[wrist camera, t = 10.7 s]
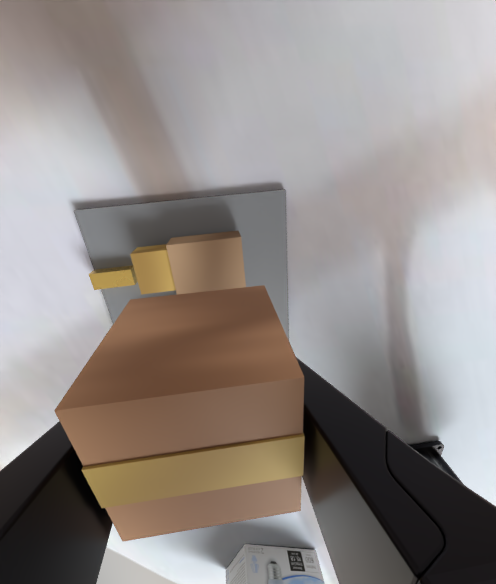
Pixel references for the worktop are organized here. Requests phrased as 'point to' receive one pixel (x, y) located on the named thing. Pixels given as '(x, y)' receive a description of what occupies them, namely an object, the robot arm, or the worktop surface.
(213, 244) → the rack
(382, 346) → the worktop surface
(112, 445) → the yellow-striped wooden block
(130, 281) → the pointer
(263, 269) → the base plate
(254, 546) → the light bulb box
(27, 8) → the worktop surface
